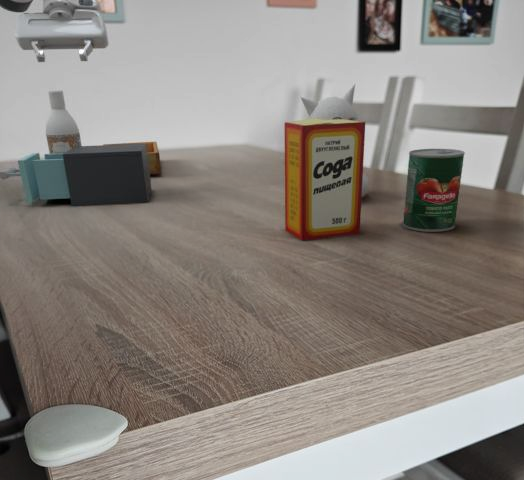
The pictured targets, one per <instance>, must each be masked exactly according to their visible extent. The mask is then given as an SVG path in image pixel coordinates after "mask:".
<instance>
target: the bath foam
mask: <svg viewBox="0 0 524 480" xmlns="http://www.w3.org/2000/svg"><path fill="white" fill-rule="evenodd" d="M47 93H48V98H49V103H50V108H51V110H50V112H49V115H48V117H47V120H46V123H45V137H46V142H47V147H48V154H57V153H65V152H67V151H69V150H70V149H72V148H74V147H75V146H83V145H82V140H81V133H80V129H79V126H78V124H77V122H76V119H74V118H73V116H72V115H71V114H70V113H69V111H68V110H67V108H66V103H65V97H64V92H63V90H48V91H47Z"/></svg>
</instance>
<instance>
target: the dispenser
mask: <svg viewBox="0 0 524 480" xmlns="http://www.w3.org/2000/svg"><path fill="white" fill-rule="evenodd" d="M63 160H64V165H65V171H66V177H67V182H68V188H69V193H70V198H69V199H70V203H71V207H75V206H94V205H116V204H133V203H134V204H135V203H137V204H138V203H148V202H149V199H150V196H151V193H152V181H151V174H150V172H149V163H148V154H147V145H146V144H124V145H103V144H102V145H82V146H75V147H74V148H72V149H70V150H69V151H67V152H65V153H64V154H63Z"/></svg>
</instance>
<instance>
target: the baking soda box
mask: <svg viewBox="0 0 524 480" xmlns="http://www.w3.org/2000/svg"><path fill="white" fill-rule="evenodd" d="M365 138H366V121H361V120H358V121H354V120H346V119H335V120H321V119H317V118H314V119H301V120H294V121H285V122H284V202H285V203H284V208H285V209H284V210H285V211H284V212H285V213H284V216H285V217H284V220H285V223H284V224H285V228H284V229H285V231H286V232H287V233H289V234H291V235H293V236H294V237H295V238H297V239H298V240H300V241H310V240H316V239H324V238H325V239H326V238H333V237H339V236H348V235H357V234H360V233H361V216H362V214H361V213H362V198H363V197H362V178H363V173H364V159H365V158H364V157H365V141H366V139H365Z"/></svg>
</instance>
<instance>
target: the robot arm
mask: <svg viewBox="0 0 524 480" xmlns="http://www.w3.org/2000/svg"><path fill="white" fill-rule="evenodd" d="M33 1H34V0H0V8H2V9H3V10H5V11H8V12H11V13H23V14H21V15H19V16H17V18H16V27H15V32H14V37H15V40H16V43H17V44H18V46H19V48H21V50H23V51H33V52H34V54H35V57H36V60H37V62H38V63H46V55H45V52H44V51H45V50H79V51H78V52H79V53H78V54H79V59H80V62H88V61H89V56H90V55H91V54H92V52H93V51H94V49H95V50H96V49H99V50H100V49H106V48H107V47H108V46H109V45H110V44H109V36H108V31H107V27H106V23H105V19H104V16H103V14H102V10H101V7H100V4H99V2H98V0H42V2H43V3H42V12H31V13H29V12H27V11H28V10H29V8H30V6H31V4H32V3H33Z"/></svg>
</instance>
